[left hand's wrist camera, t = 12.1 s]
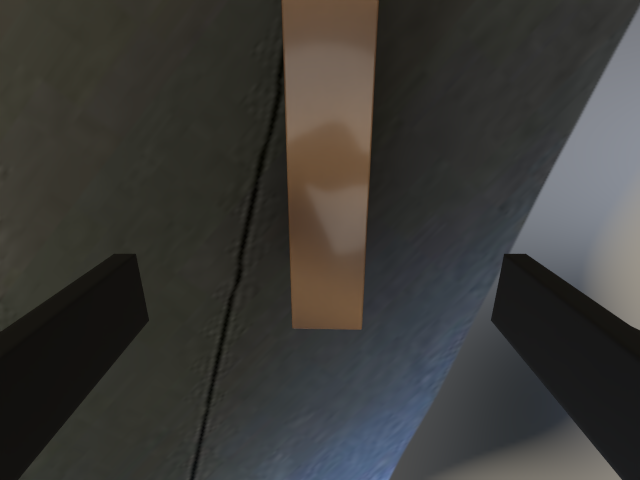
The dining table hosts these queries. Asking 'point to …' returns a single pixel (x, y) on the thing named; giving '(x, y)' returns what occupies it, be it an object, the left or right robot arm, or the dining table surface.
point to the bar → (328, 155)
